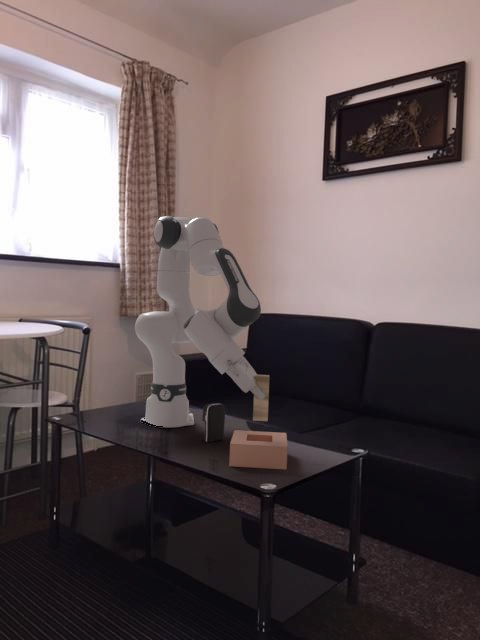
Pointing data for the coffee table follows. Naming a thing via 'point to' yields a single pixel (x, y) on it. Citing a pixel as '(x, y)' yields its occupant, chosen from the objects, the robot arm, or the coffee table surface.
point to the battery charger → (214, 421)
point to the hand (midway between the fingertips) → (263, 396)
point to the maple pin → (262, 405)
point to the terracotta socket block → (258, 449)
